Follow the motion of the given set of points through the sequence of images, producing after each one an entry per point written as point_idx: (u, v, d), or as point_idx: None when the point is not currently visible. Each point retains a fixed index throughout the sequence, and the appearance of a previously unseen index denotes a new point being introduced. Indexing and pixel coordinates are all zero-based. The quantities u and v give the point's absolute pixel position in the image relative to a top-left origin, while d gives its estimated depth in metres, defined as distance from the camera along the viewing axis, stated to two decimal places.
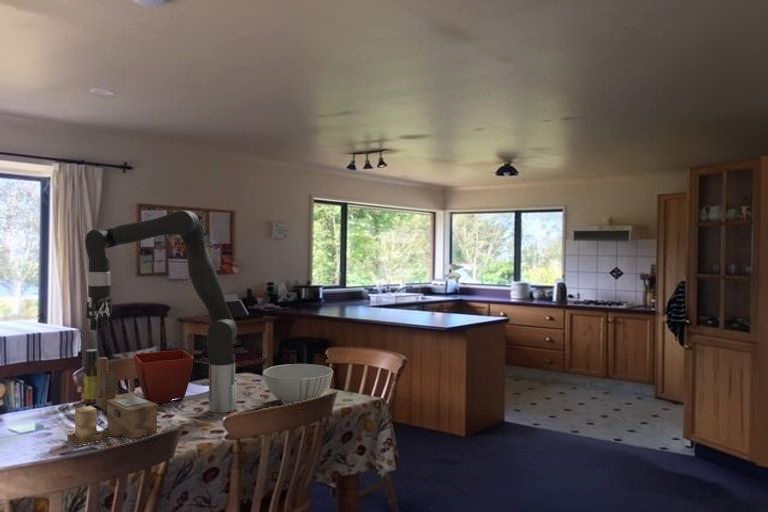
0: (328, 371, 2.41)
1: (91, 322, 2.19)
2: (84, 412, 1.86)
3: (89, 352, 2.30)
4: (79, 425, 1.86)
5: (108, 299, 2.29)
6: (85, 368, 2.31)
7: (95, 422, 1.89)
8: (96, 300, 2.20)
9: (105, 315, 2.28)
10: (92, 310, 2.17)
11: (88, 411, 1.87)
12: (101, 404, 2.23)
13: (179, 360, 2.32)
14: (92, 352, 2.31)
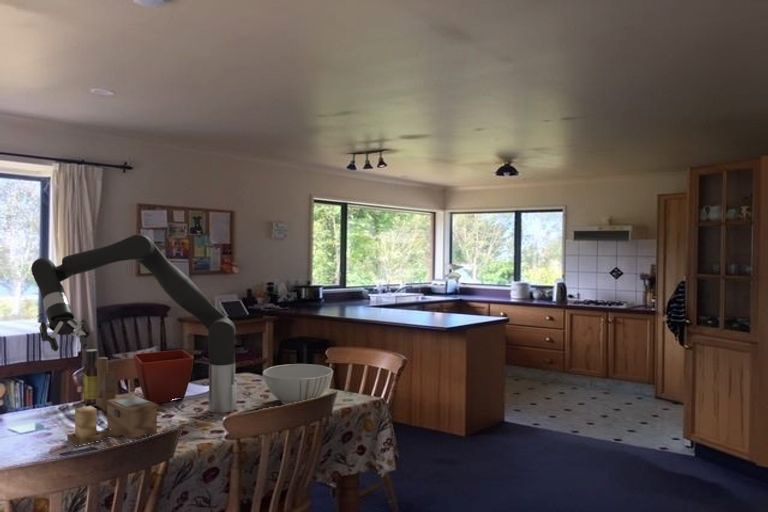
0: (328, 371, 2.41)
1: (50, 343, 1.94)
2: (84, 412, 1.86)
3: (89, 352, 2.30)
4: (79, 425, 1.86)
5: (81, 321, 2.05)
6: (85, 368, 2.31)
7: (95, 422, 1.89)
8: (50, 321, 1.98)
9: (80, 336, 2.01)
10: (42, 330, 1.94)
11: (88, 411, 1.87)
12: (101, 404, 2.23)
13: (179, 360, 2.32)
14: (92, 352, 2.31)
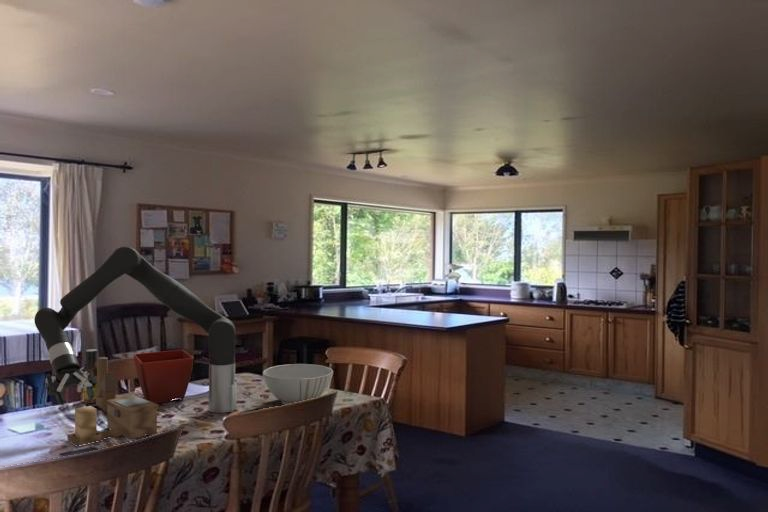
0: (328, 371, 2.41)
1: (57, 397, 1.91)
2: (84, 412, 1.86)
3: (89, 352, 2.30)
4: (79, 425, 1.86)
5: (87, 371, 2.02)
6: (85, 368, 2.31)
7: (95, 422, 1.89)
8: (56, 374, 1.95)
9: (87, 387, 1.98)
10: (48, 383, 1.91)
11: (88, 411, 1.87)
12: (101, 404, 2.23)
13: (179, 360, 2.32)
14: (92, 352, 2.31)
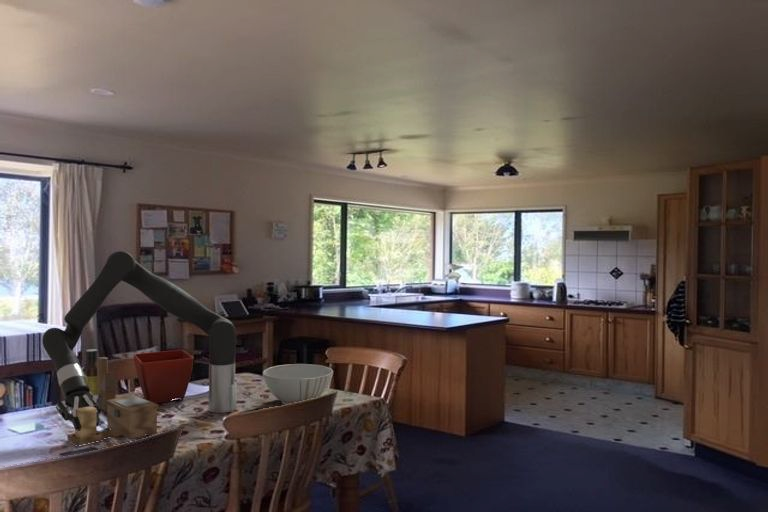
0: (328, 371, 2.41)
1: (73, 422, 1.86)
2: (84, 412, 1.86)
3: (89, 352, 2.30)
4: None
5: (98, 395, 1.96)
6: (85, 368, 2.31)
7: (95, 422, 1.89)
8: (65, 397, 1.90)
9: None
10: (62, 410, 1.86)
11: (88, 411, 1.87)
12: None
13: (179, 360, 2.32)
14: (92, 352, 2.31)
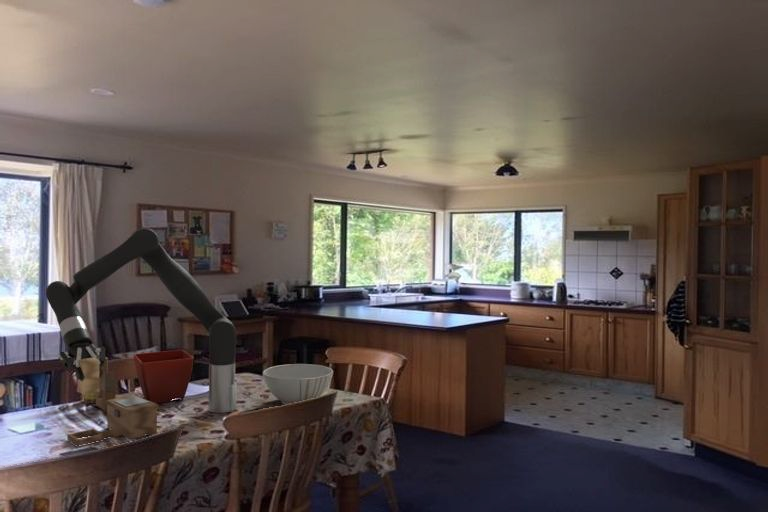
0: (328, 371, 2.41)
1: (76, 372, 1.87)
2: (87, 362, 1.86)
3: None
4: None
5: (100, 348, 1.96)
6: None
7: (98, 373, 1.89)
8: (68, 348, 1.90)
9: None
10: (65, 360, 1.86)
11: (91, 362, 1.87)
12: (101, 404, 2.23)
13: (179, 360, 2.32)
14: None
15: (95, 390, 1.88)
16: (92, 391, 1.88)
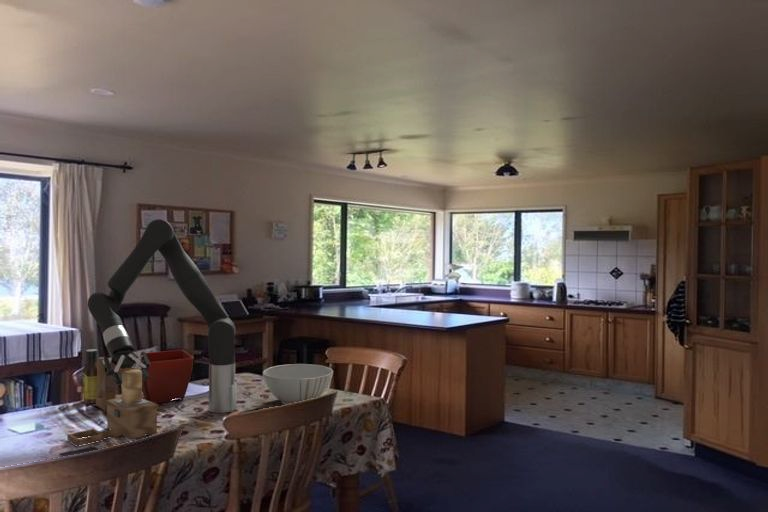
0: (328, 371, 2.41)
1: (114, 377, 1.96)
2: (131, 373, 1.97)
3: (89, 352, 2.30)
4: (126, 386, 1.97)
5: (141, 353, 2.07)
6: (85, 368, 2.31)
7: (140, 383, 1.99)
8: (112, 355, 2.00)
9: (141, 368, 2.03)
10: (105, 364, 1.96)
11: (134, 373, 1.98)
12: (101, 404, 2.23)
13: (179, 360, 2.32)
14: (92, 352, 2.31)
15: (138, 400, 1.99)
16: (135, 401, 1.98)
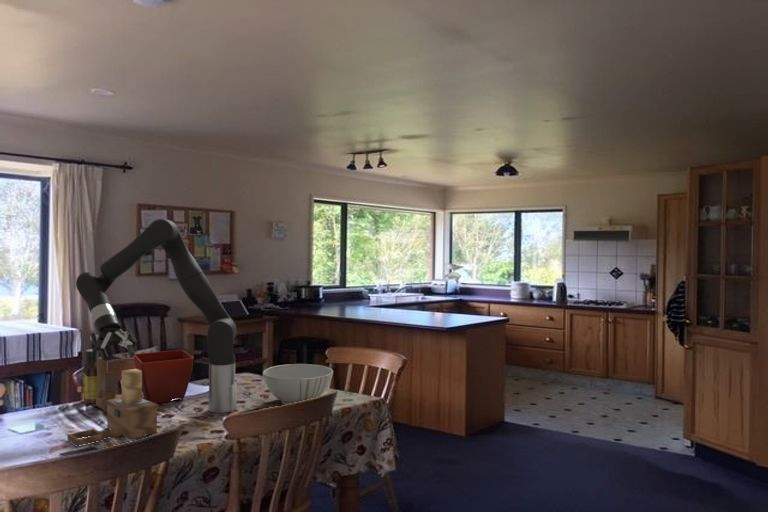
0: (328, 371, 2.41)
1: (101, 353, 2.02)
2: (131, 373, 1.97)
3: (89, 352, 2.30)
4: (126, 386, 1.97)
5: (127, 331, 2.13)
6: (85, 368, 2.31)
7: (140, 383, 1.99)
8: (99, 332, 2.06)
9: (128, 345, 2.09)
10: (92, 341, 2.02)
11: (134, 373, 1.98)
12: (101, 404, 2.23)
13: (179, 360, 2.32)
14: (92, 352, 2.31)
15: (138, 400, 1.99)
16: (135, 401, 1.98)
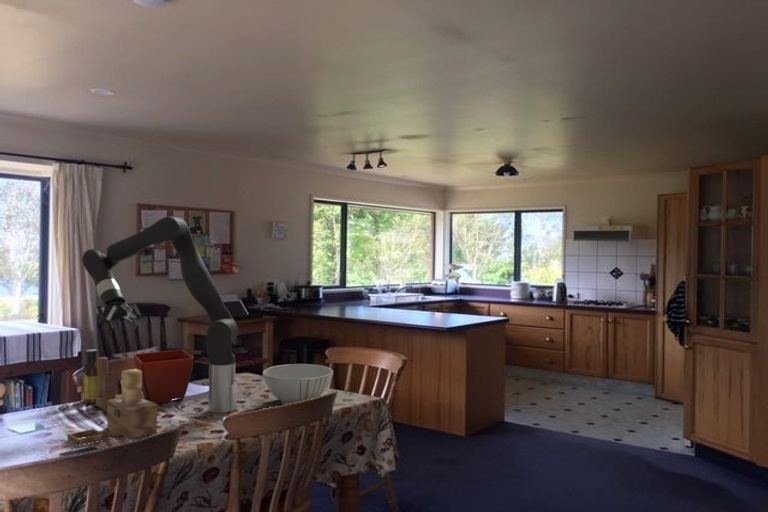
0: (328, 371, 2.41)
1: (106, 325, 2.11)
2: (131, 373, 1.97)
3: (89, 352, 2.30)
4: (126, 386, 1.97)
5: (132, 305, 2.22)
6: (85, 368, 2.31)
7: (140, 383, 1.99)
8: (105, 305, 2.15)
9: (132, 318, 2.18)
10: (98, 313, 2.11)
11: (134, 373, 1.98)
12: (101, 404, 2.23)
13: (179, 360, 2.32)
14: (92, 352, 2.31)
15: (138, 400, 1.99)
16: (135, 401, 1.98)
